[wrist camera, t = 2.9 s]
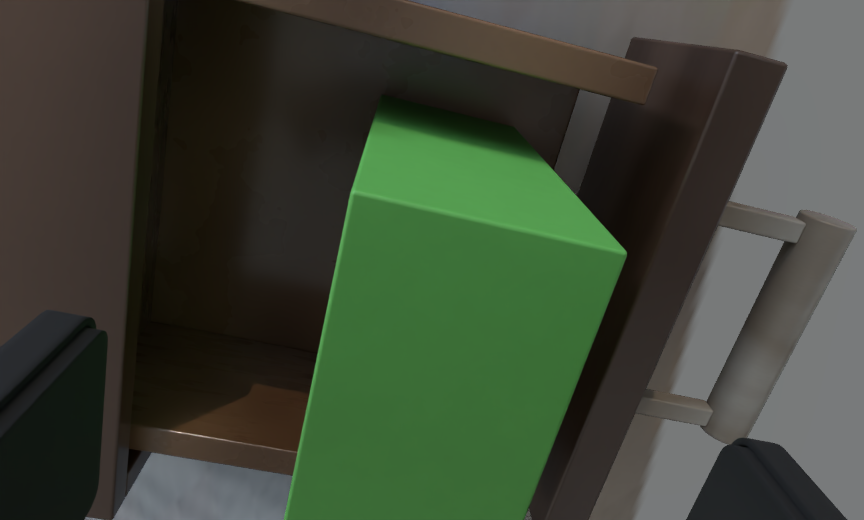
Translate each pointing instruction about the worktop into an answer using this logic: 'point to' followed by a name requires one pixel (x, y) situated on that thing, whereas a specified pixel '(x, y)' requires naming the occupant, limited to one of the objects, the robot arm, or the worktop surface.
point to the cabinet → (80, 186)
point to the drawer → (331, 186)
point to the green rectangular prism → (449, 325)
